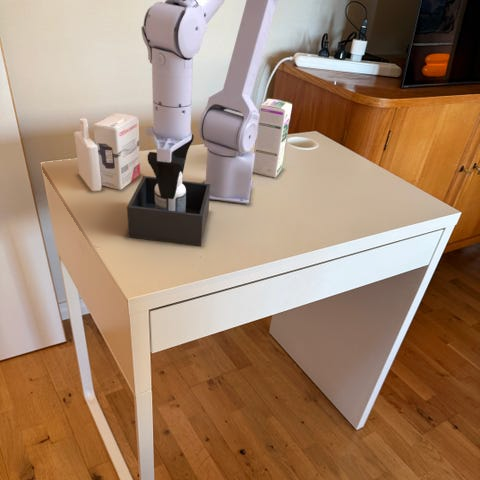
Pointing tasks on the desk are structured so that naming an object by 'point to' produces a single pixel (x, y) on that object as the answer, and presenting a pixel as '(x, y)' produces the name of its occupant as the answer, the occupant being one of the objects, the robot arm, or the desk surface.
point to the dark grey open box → (168, 214)
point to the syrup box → (271, 137)
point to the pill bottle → (172, 204)
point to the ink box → (118, 149)
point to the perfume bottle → (87, 157)
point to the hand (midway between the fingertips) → (171, 187)
